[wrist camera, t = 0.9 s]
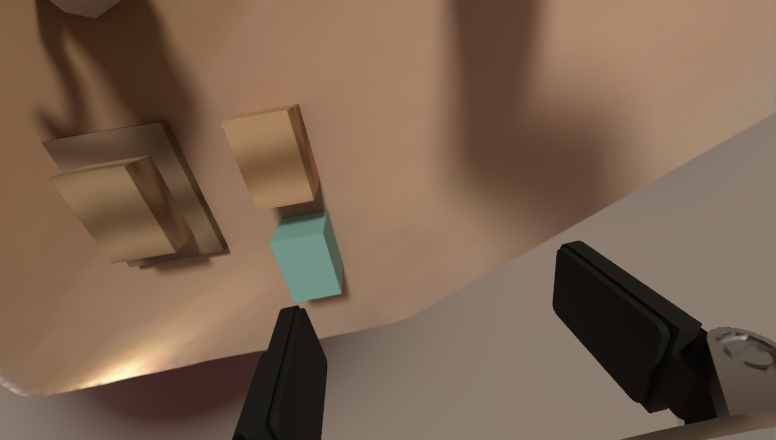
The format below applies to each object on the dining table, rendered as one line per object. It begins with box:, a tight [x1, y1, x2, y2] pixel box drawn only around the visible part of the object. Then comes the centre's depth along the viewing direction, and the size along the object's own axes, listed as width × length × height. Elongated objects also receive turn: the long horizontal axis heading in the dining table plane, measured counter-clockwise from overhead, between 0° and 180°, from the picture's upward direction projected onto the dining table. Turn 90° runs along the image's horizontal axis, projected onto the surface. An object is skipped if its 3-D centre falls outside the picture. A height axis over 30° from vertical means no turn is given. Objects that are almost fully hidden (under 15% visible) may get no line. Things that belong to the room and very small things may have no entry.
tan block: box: [220, 104, 320, 211], centre depth 30 cm, size 9×6×6 cm, turn 9°
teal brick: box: [269, 211, 343, 303], centre depth 36 cm, size 9×6×6 cm, turn 9°
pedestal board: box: [41, 121, 227, 267], centre depth 32 cm, size 16×12×5 cm
